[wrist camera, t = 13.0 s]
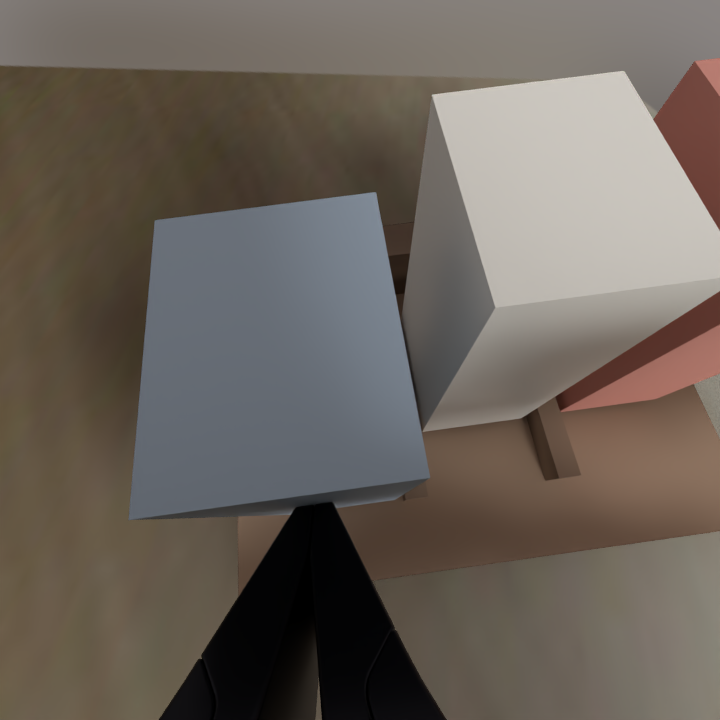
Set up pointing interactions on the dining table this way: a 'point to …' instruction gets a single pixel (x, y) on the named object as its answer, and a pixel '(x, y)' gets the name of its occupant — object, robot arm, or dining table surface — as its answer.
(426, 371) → the white tall block
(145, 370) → the light blue tall block
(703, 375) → the red rectangular block
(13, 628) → the dining table surface
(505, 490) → the wooden block stand
